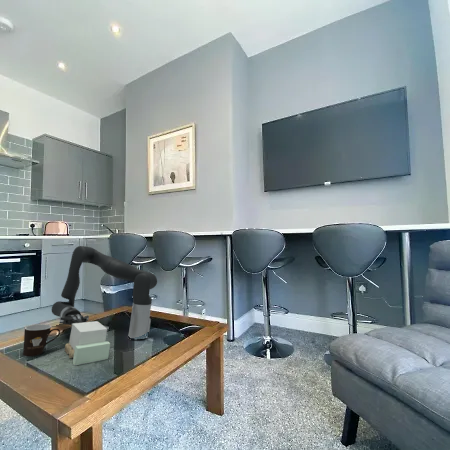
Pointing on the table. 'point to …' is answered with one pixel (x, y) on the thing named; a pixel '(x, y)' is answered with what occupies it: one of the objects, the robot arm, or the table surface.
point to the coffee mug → (36, 339)
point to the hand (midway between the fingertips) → (79, 324)
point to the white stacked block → (87, 333)
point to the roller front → (71, 353)
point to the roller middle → (68, 349)
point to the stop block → (91, 353)
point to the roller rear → (66, 346)
